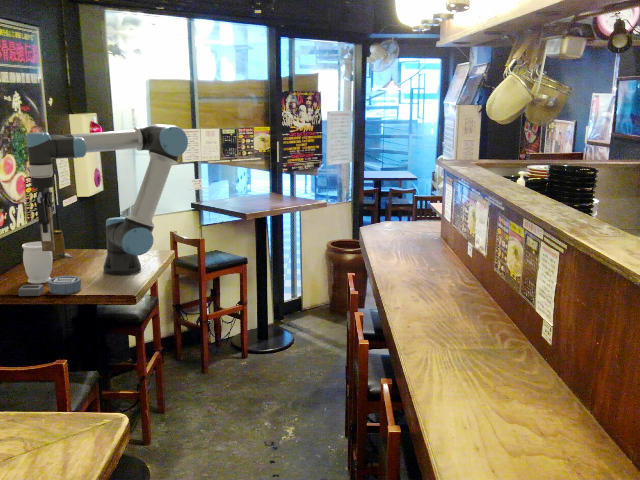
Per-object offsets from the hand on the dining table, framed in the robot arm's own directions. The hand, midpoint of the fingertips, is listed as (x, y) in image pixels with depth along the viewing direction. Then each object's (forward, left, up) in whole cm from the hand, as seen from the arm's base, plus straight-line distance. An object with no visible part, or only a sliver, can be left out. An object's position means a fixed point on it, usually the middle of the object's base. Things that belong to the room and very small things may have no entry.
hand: (48, 240), depth 222 cm
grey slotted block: (+6, +2, -20) cm, 21 cm away
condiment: (+9, -52, -20) cm, 57 cm away
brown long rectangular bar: (0, 0, -4) cm, 4 cm away
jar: (+8, -14, -20) cm, 26 cm away
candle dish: (-5, -1, -20) cm, 20 cm away
